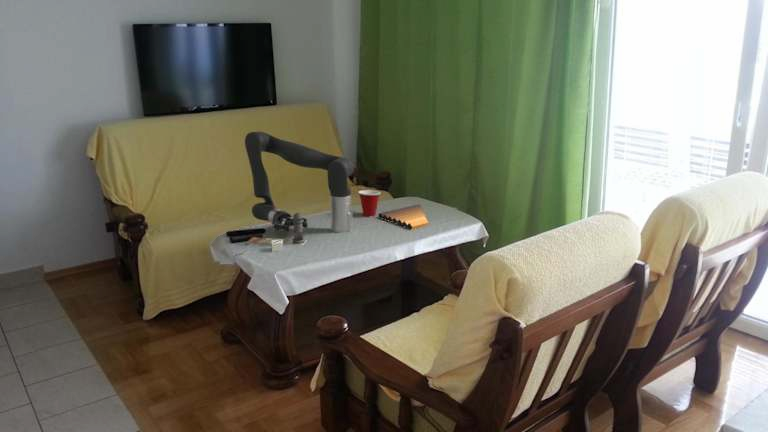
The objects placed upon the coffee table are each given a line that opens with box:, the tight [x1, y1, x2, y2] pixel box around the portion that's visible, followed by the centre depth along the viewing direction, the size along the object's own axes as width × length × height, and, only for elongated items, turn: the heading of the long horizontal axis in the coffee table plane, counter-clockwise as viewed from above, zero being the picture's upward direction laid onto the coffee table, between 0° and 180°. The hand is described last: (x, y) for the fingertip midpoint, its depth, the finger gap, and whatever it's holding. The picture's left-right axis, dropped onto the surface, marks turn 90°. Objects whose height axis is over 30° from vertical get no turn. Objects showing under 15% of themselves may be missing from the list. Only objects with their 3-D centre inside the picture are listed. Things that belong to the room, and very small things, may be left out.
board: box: [245, 236, 308, 246], centre depth 261 cm, size 26×8×1 cm, turn 81°
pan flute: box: [378, 204, 429, 230], centre depth 296 cm, size 25×3×25 cm
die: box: [271, 238, 284, 252], centre depth 251 cm, size 4×4×5 cm
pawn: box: [292, 212, 306, 245], centre depth 258 cm, size 5×5×13 cm
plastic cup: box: [358, 189, 381, 217], centre depth 300 cm, size 11×11×12 cm
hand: (297, 227), depth 258 cm, fingers open, 8 cm apart
